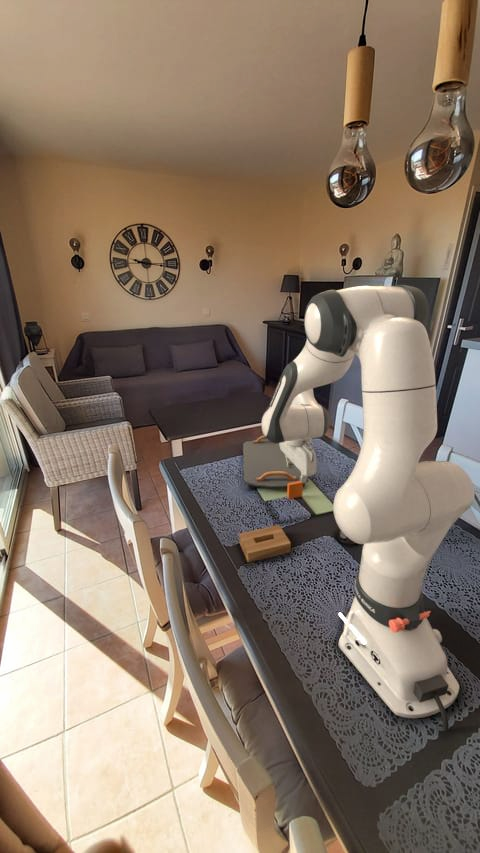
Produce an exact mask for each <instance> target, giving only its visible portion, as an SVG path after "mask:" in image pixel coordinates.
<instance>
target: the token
mask: <svg viewBox="0 0 480 853" xmlns="http://www.w3.org/2000/svg"><path fill="white" fill-rule="evenodd" d="M302 492H303V483H301V482H300V481H297V482H292V483H288V488H287V497H286V498H287V499H288V500H292V499H296V498H302Z"/></svg>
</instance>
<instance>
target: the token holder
mask: <svg viewBox="0 0 480 853" xmlns="http://www.w3.org/2000/svg"><path fill="white" fill-rule="evenodd" d="M238 543H239V544H240V547H241V550H242V552H243V554H244V556H245V560H246V561H247V563H253V562H257V561H260V560H264V559H268V558H272V557H275V556H281V555H284V554H289V553H291V552H292V551H291V549H292V543H291V541H290V539H289V537H288V536H287V535H286V533H285V531H284V530H283V528H282V527H281V525H280V524H276V525H271V526H267V527H263V528H259V529H253V530H250V531H246V532H240V533H238Z"/></svg>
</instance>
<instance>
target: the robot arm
mask: <svg viewBox="0 0 480 853" xmlns="http://www.w3.org/2000/svg"><path fill="white" fill-rule="evenodd" d="M429 315H430V308H429V302H428V299H427V297H426V295H425V293H424V292H423V291H422V290H421V289H420V288H418V287H415V286H412V285H406V284H396V285H358V286H351V287H345V288H341V289H337V290H336V289H329V290H325V291H323V292H320V293H319V292H318V293H317V294H315V295H313V296H312V297H311V299H310V300H309V302H308V303H307V305H306V308H305V311H304V318H303V319H304V323H303V325H304V333H305V336H306V341H305V344H304V346H303V348H302V350H301V351H300V353H299V354H298V355H297V356H295V358H294V359H293V360H292V361H290V362H289V363H288V364H287V365H285V367H284V369H283V371H282V373H281V375H280V378H279V379H278V382H277V384H276V387H275V390H274V392H273V395H272V397H271V399H270V402H269V404H268V406H267V407H266V409H265V411H264V412H263V414H262V417H261V431H262V436H264V437H265V438H266V439H268V440H269V441H271V442H272V443H274V444H276V443H279V446H280V449H281V451H282V452H283V453H284V454H285V457H286V461H287V467H288V468H289V469H291V468H293V467H294V466H293V465H295V466H296V467H297V468H298V469H299V470H300V471H301V476H299V480H300V482H301V483H305V482H306V481H307V476H308V477H312V476H315V475H316V474H317V472H318V469H317V468H318V467H317V466H318V464H317V463H318V462H317V454H316V451H315V450H314V449H313V447H312V446H311V443H312V442H313V439H318V438H322V437H324V436H325V435H326V434H327V432H328V430H329V428H330V412H329V410H328V409H326V408H325V407H324V406H323V405H322V404H320V403H318V402H317V400H316V398H315V395H314V389H315V388H316V389H317V388H319V387H322V386H326V385H331V384H332V383H335V382H337V381H338V380H340V379H341V378H343V377H344V376H345V375H346V374H347V372H348V371H349V369H350V367H351V365H352V363H353V361H354V359H355V356H357V358H358V360H359V362H360V369H361V372H360V373H361V375H360V376H361V395H362V398H361V399H362V415H363V418H362V419H363V434H362V442H361V447H360V450H359V454H358V457H357V460H356V462H355V464H354V467H353V469H352V471H351V473H350V474H349V476H348V478H347V479H346V480H345V481H344V483H343V484H342V485H341V486H340V487H339V488H338V489H337V490H336V492H335V495H334V499H333V503H332V504H333V511H332V512H333V516H334V520H335V522H336V524H337V526H338V528H340V529H341V531H342V532H343V533H344V534H345V535H346V536H347V537H348V538H349V539H351V540H352V541H354V542H355V543H356V544H358V545H362V549H361V550H362V551H361V559H360V563H359V564H360V565H359V569H358V571H357V573H356V577H355V581H354V597H353V600H352V603H351V606H350V609H349V611H348V613H347V615H346V616H344V615H343V613H342V612H338V616H339V617H340V619H341V620H342V621H343V631H342V633H341V635H340V638H339V640H338V647H339V649H340V650H341V651H342V653H343V654H344V656H346V657H347V659H348V660H349V661H350V663H352V665H353V666H354V667H355V668H356V670H357V671H358V672H359V673H360V674H361V676H362V677H363V678H364V679H365V681H366V682H367V683H368V684H369V686H371V688H372V689H373V690H374V691H375V692H376V694H377V695H378V696H379V697H380V698H381V700H382V701H383V702H384V704H385V705H386V706H387V707H388V708H389V710H390V711H391V712H392V713H393V714H394V715H395V716H398V717H401V718H406V719H422V718H426V717H430V716H433V715H435V714H438V713H440V715H441V719H442V720H441V722H442V723H441V724H442V730H444V731H445V732H447V731H449V719H448V714H447V711H446V709H447V708H449V707H450V706H451V705H452V704H453V703H454V702H455V701H456V700H457V698H458V695H459V692H460V684H459V682H458V681H457V679H456V677H455V676H454V674H453V672H452V671H451V669H450V667H449V666H448V659H447V656H446V653H445V651H444V649H443V647H442V645H441V643H442V642H443V637H442V634H441V631H439V630H438V629H437V628H433V627H432V626H431V625H432V624H430V621H429V620H428V618H429V617H430V616H431V615H430V613H431V612H432V611H431V610H427V611H426V610H425V602H424V595H423V590H422V588H423V585H424V581H425V577H426V573H427V570H428V566H429V564H430V562H431V560H432V558H433V556H434V555H435V553H436V552H437V550H438V549H439V546H440V545H441V543H442V542H443V541H444V539H445V537H446V536H447V534H448V532H449V531H450V530H451V528H452V527H453V525H454V524H455V523H456V522H457V521H458V520H459V518H460V517H462V515H463V514H465V512H467V511H468V510H469V509H470V508H471V507H472V505H473V503H474V501H475V497H476V496H475V495H476V493H475V487H474V483H473V481H472V479H471V476H470V475H469V474H468V473H467V471H465V469H463V467H461V466H460V465H458V464H456V463H455V462H452V461H448V460H424V461H420V459H421V456H422V455H423V453H424V452H425V450H426V449H427V447H428V446H429V445H430V444H431V443H432V441H433V440H434V439H435V437H436V435H437V432H438V409H437V406H438V405H437V385H436V370H435V362H434V355H433V351H432V346H431V342H430V338H429V334H428V330H427V329H426V328H427V325H428V321H429Z"/></svg>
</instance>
